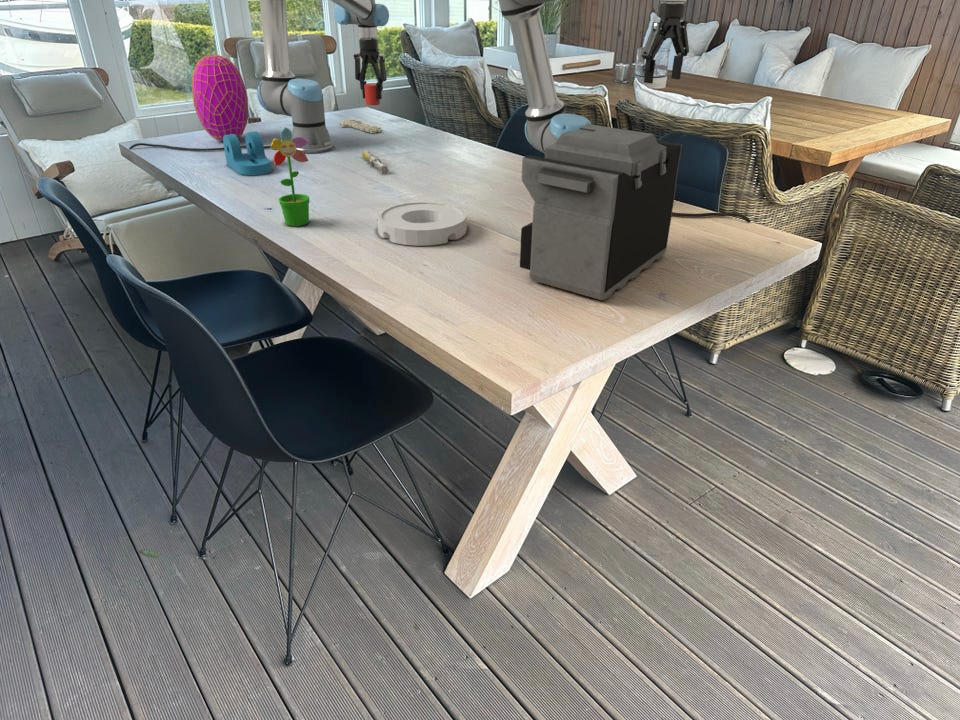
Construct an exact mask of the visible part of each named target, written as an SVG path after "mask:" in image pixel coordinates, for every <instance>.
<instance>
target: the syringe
mask: <svg viewBox="0 0 960 720" xmlns="http://www.w3.org/2000/svg"><path fill="white" fill-rule="evenodd" d="M361 155H362V158H363V159H364V160H366V161H367V162H368V163H369V164H370V166H371V167H373V168H374V167H375V168H377V169H378V170H379V172H381V174H383V175H384V174H387V173H388V172H390V170H389V168H388V166H387V165H384V164H383V163H382V160H381V159H379V158H377V157H376V156H374V155H373V154H372V153H370V151H369V150H367V149H365V150H363V151H362V154H361Z"/></svg>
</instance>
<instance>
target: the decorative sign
mask: <svg viewBox="0 0 960 720" xmlns="http://www.w3.org/2000/svg"><path fill="white" fill-rule="evenodd" d="M361 122H362V121H361V120H356V118H348V119H345V120H340V124H341V127H342V128H346V127H347V128H354V129H358V130H360V131H365V132H366V133H370V134H376V133H381V131H382V130H381V129H382V127H381V126H377V125H370V124H369V123H361Z"/></svg>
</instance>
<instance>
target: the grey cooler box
mask: <svg viewBox="0 0 960 720" xmlns="http://www.w3.org/2000/svg"><path fill="white" fill-rule="evenodd" d="M682 147H683V144H682V143H677V142H671V141H665V140H658V139H656V136H655V134H654V133H649V132H643V131H636V130H629V129H623V128H616V127H610V126H603V125H597V124H591V125H590V124H589V125H586V126H583V127H580V128H579V130H577V131H569V132H566V133H563V134H561V135H560V137H559V138H558V140H557V141H556V143H554V144H552V145H550V146H548V147H545V153H544V157H540V156H535V155H531V154H529V155H525V156H523V157H522V161H521V182H522V183H523V185H524V186H525V188H526V190H527V192H528V193H529V195H530V197H531V199H532V200H533V201H534V204H533V209H532V222H530V223H528V224H526V225H524V226H522V227H521V230H520V231H521V232H520V251H519V268H521V269H525V270H528V271H529V278H530V280H531V281H534V282H537V283H541V284H544V285H547V286H551V287H554V288H558V289H561V290H565V291H568V292H572V293H575V294H579V295H582V296H585V297H589V298H591V299H592V298H593V299H596V300H599V301H606V300H608V299H609V298H610V297H611V296H612V295H613V293H614V292H615V291H616V290H621V289H622V288H624V287H625V285H626V284H627V282H628V281H629V280H634V279H635V278H637V277H638V276H639V275H640V273H641V272H642V271H643V270H647V269H649V268H650V267H651V266H652V265H653V263H654V262H655V261H659V260H661V259H662V258H663V257H664V255H665V253H666V252H667V248H668V242H669V236H670V228H671V223H672V222H671V221H672V216H673V215H672V212H673V210H674V203H675V198H676V192H677V191H676V190H677V180H678V173H679V168H680V167H679V166H680V162H681V161H680V160H681V154H682V149H683V148H682Z"/></svg>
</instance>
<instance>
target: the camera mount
mask: <svg viewBox="0 0 960 720" xmlns="http://www.w3.org/2000/svg"><path fill="white" fill-rule="evenodd" d="M222 143H223V148H224V150H223V151H224V156H225V161H226V165H227V166H228V167H230V168H231V169H232V170H234V171H236V172H237V173H238V174H239V175H244V176H260V175H265V174H268V173H271V172H272V164H271V159H270V158H268V157H267V156H266V153H265V148H264V146H265V145H264V141H263V139H262V136H261V134H260V132H258V131H247V132H246V133H245V146H246V147H247V148H246V152H243V151H242V150H243V149H242V148H241V146H242V145H241V142H240V140H239V138H237V136H236V135H235V134H230V135H224V137H223V141H222Z"/></svg>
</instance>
